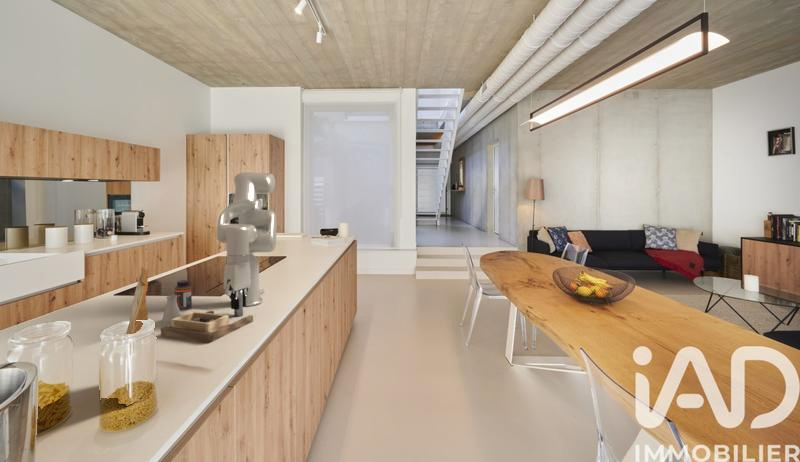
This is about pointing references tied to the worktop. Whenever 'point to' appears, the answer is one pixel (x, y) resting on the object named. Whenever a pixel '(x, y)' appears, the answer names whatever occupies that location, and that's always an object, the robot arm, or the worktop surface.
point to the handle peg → (240, 311)
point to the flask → (171, 309)
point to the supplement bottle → (183, 294)
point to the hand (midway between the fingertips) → (238, 307)
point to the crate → (201, 321)
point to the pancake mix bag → (139, 304)
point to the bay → (202, 335)
